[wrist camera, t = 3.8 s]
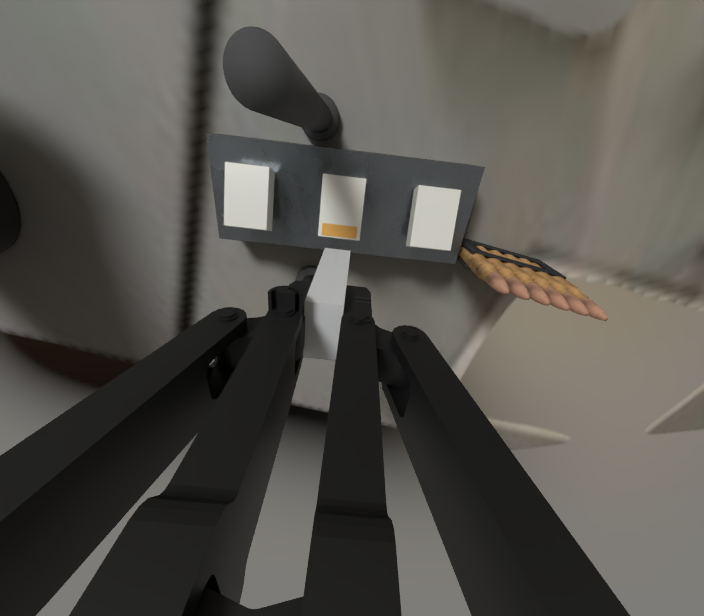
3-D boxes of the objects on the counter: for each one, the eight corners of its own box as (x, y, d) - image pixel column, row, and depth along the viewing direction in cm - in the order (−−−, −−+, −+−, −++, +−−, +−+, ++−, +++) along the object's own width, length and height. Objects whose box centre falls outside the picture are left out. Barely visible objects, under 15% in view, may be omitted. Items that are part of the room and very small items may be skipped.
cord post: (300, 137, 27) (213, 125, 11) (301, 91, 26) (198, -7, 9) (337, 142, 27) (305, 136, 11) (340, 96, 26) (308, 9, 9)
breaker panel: (234, 228, 32) (219, 238, 28) (225, 134, 27) (206, 133, 24) (444, 251, 33) (455, 264, 29) (469, 164, 28) (484, 167, 25)
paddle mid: (319, 236, 26) (317, 235, 24) (324, 178, 25) (322, 173, 23) (358, 241, 26) (359, 240, 24) (365, 183, 25) (366, 178, 23)
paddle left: (232, 226, 26) (223, 225, 24) (233, 168, 25) (224, 161, 23) (272, 231, 26) (266, 229, 24) (274, 172, 25) (269, 167, 23)
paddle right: (405, 246, 26) (409, 246, 25) (413, 189, 25) (418, 185, 24) (443, 250, 26) (450, 250, 25) (453, 194, 25) (461, 190, 24)
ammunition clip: (540, 260, 33) (625, 313, 22) (531, 274, 34) (608, 331, 23) (455, 235, 32) (503, 279, 21) (448, 251, 33) (490, 300, 22)
